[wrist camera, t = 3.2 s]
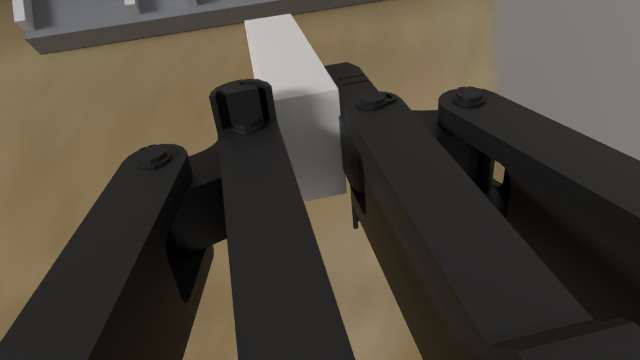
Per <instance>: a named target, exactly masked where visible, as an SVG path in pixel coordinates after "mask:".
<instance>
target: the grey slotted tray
mask: <svg viewBox="0 0 640 360" xmlns="http://www.w3.org/2000/svg"><path fill="white" fill-rule="evenodd" d="M375 1H381V0H12V3H13V12H14V21H15V23H16V24H17V25H18V26H19V27H20V28H21V29H22V30H23V31H24V32H25V39H26V41H27V42H28V43H29V44H30V45H31V46H32V47H33V48H34V49H35V50H36V51H37V52H38V53H39V54H46V53H52V52H58V51H65V50H71V49H77V48H84V47H90V46H96V45H103V44H109V43H115V42H122V41H128V40H134V39H141V38H147V37H153V36H160V35H166V34H172V33H178V32H185V31H191V30H197V29H204V28H210V27H216V26H223V25H229V24H235V23H242V22H244V21H246V20H252V19H259V18H265V17H272V16H278V15H285V14H291V15H292V14H299V13H305V12H311V11H318V10H324V9H330V8H337V7H343V6H349V5H356V4H362V3H368V2H375Z"/></svg>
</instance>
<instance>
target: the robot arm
mask: <svg viewBox="0 0 640 360" xmlns="http://www.w3.org/2000/svg"><path fill="white" fill-rule="evenodd" d="M244 22H245V28H246V33H247V39H248V45H249V50H250V56H251V62H252V67H253V73H254V78H255V79H246V80H237V81H233V82H229V83H226V84H223V85H221V86H219V87H217V88H216V89H214V90H213V91H212V92H211V93H210V96H209V99H210V103H211V107H212V111H213V116H214V120H215V124H216V128H217V134H218V141H217V142H216V143H215V144H213V145H212V146H211V147H209V148H208V149H206V150H204V151H202V152H199V153H197V154H194V155H192V156H189V157H188V155H187V151H186V150H185V149H184V148H183V147H181V146H178V145H175V144H160V145H155V144H154V145H150V146H148V147H147V148H146V147H144V148H141V149H139V150H138V151H137V152H135V153H133V154H131V155H129V156H128V157H127V158H126V159H125V160H124V161H123V162H122V164H121V165H120V167H119V168H118V170H117V171H116V173H115V174H114V176H113V177H112V179H111V180H110V182H109V183H108V184H107V186H106V187H105V189H104V190H103V192H102V193H101V195H100V196H99V198H98V199H97V201H96V202H95V204H94V205H93V207H92V208H91V210H90V211H89V212H88V214H87V215H86V217H85V218H84V220H83V221H82V223H81V224H80V226H79V227H78V229H77V230H76V232H75V233H74V235H73V236H72V237H71V239H70V240H69V242H68V243H67V245H66V246H65V248H64V249H63V251H62V252H61V254H60V255H59V257H58V258H57V260H56V261H55V263H54V264H53V265H52V267H51V268H50V270H49V271H48V273H47V274H46V276H45V277H44V279H43V280H42V282H41V283H40V285H39V286H38V288H37V289H36V290H35V292H34V293H33V295H32V296H31V298H30V299H29V301H28V302H27V304H26V305H25V307H24V308H23V310H22V311H21V313H20V314H19V316H18V317H17V318H16V320H15V321H14V323H13V324H12V326H11V327H10V329H9V330H8V332H7V333H6V335H5V336H4V338H3V339H2V341H1V342H0V360H182V359H183V356H184V353H185V349H186V346H187V343H188V339H189V336H190V333H191V329H192V326H193V323H194V319H195V316H196V313H197V309H198V306H199V303H200V300H201V296H202V293H203V290H204V286H205V283H206V280H207V276H208V273H209V270H210V266H211V263H212V260H213V256H214V248H213V244H215V243H218V242H220V241H222V240H225V239H227V243H228V254H229V265H230V276H231V287H232V297H233V308H234V319H235V330H236V341H237V352H238V360H355V357H354V354H353V351H352V348H351V345H350V342H349V339H348V336H347V333H346V330H345V327H344V324H343V321H342V318H341V315H340V311H339V308H338V305H337V302H336V299H335V296H334V293H333V290H332V287H331V284H330V281H329V278H328V275H327V272H326V269H325V266H324V263H323V260H322V257H321V253H320V250H319V247H318V244H317V241H316V238H315V235H314V232H313V229H312V226H311V223H310V220H309V217H308V214H307V211H306V208H305V205H304V201H309V200H314V199H319V198H324V197H329V196H334V195H339V194H344V193H347V189H346V177H347V179H348V181H349V183H350V188H351V201H352V214H353V226H354V229H356V228H358V221H359V220H360V222H361V225H362V227H363V229H364V231H365V233H366V236H367V238H368V240H369V242H370V244H371V247H372V249H373V251H374V253H375V255H376V258H377V260H378V262H379V264H380V266H381V268H382V271H383V273H384V275H385V277H386V279H387V282H388V284H389V286H390V288H391V290H392V293H393V295H394V297H395V299H396V301H397V304H398V306H399V308H400V310H401V312H402V314H403V317H404V319H405V321H406V323H407V325H408V328H409V330H410V332H411V334H412V336H413V339H414V341H415V343H416V345H417V347H418V349H419V352H420V354H421V356H422V358H423V360H640V161H639V160H637V159H635V158H633V157H630V156H628V155H626V154H624V153H622V152H620V151H618V150H615V149H613V148H611V147H609V146H607V145H605V144H602V143H601V142H598V141H596V140H594V139H592V138H590V137H588V136H585V135H583V134H581V133H579V132H577V131H575V130H573V129H571V128H569V127H566V126H564V125H562V124H560V123H558V122H556V121H553V120H551V119H549V118H547V117H545V116H543V115H541V114H539V113H536V112H534V111H532V110H530V109H528V108H526V107H524V106H522V105H519V104H517V103H515V102H513V101H511V100H509V99H507V98H504V97H502V96H500V95H498V94H496V93H494V92H491V91H488V90H485V89H479V88H475V87H467V88H466V87H459V88H458V89H454V90H450V91H447V92H445V93H443V94H442V95H441V96H440V97H439V100H438V110H425V111H417V110H411V109H410V108H409V107H408V106H407V105H406V104H405V102H404V101H403V100H402V99H401V98H400V97H398V96H397V95H395V94H392V93H388V92H379V91H378V90H377V89H376V88H375V86H374V85H373V84H372V83H371V81H369V79H368V78H367V76H366V75H365V74H364V73H363V71H362V70H361V69H360V68H359V67H358V66H355V65H353V64H350V63H348V62H345V63H339V64H333V65H327V66H323V64H322V63H321V61H320V60H319V58H318V56H317V55H316V53H315V52H314V50H313V49H312V47H311V45H310V44H309V42H308V41H307V39H306V38H305V36H304V34H303V33H302V31H301V30H300V28H299V27H298V25H297V23H296V22H295V20H294V19H293V17H292V16H291V14H285V15H278V16H272V17H265V18H259V19H252V20H246V21H244ZM495 160H496V161H497V162H499V163H500V164H501V165H502V166H504V168H505V172H504V180H503V183H500V182H498V181H496V180H495V179H493V172H494V163H495ZM345 175H346V177H345Z"/></svg>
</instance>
